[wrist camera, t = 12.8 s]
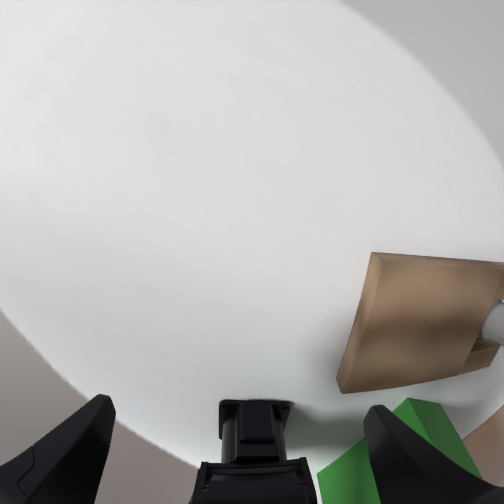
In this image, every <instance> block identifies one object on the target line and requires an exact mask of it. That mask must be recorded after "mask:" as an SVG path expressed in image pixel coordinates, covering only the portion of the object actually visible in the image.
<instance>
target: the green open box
mask: <svg viewBox="0 0 504 504" xmlns="http://www.w3.org/2000/svg"><path fill="white" fill-rule="evenodd" d="M392 413H393V414H395V415H396V416H397V417H398V418H400V419H401V420H402V421H403V422H404V423H406V424H407V425H408V426H409V427H411V428H412V429H413V430H414V431H416V432H417V433H418V434H419V435H421V436H422V437H423V438H424V439H426V440H427V441H428V442H429V443H431V444H432V445H433V446H435V447H436V448H437V449H438V450H440V451H441V452H442V453H443V454H445V455H446V457H449V458H450V459H451V460H453V461H454V462H455V463H457V464H458V465H460V466H461V467H462V468H464V469H466V470H467V471H469V472H470V473H472V474H474V475H476V476H477V477H479V478H481V479H482V477H481V475H480V473H479V471H478V469H477V467H476V465H475V463H474V462H473V460H472V458H471V456H470V454H469V453H468V451H467V449H466V447H465V446H464V444H463V442H462V440H461V438H460V437H459V435H458V433H457V432H456V430H455V428H454V427H453V425H452V423H451V422H450V420H449V418H448V417H447V415H446V413H445V412H444V410H443V408H442V407H441V405H440V404H438V403H432V402H427V401H422V400H417V399H412V398H406V399H405V400H404V401H403V403H402V404H401V405H400V406H398V407H397V408H396V409H395V410H394V411H393V412H392ZM317 478H318V483H319V488H320V493H321V498H322V503H323V504H381V503H380V499H379V495H378V491H377V487H376V483H375V479H374V476H373V472H372V468H371V465H370V461H369V456H368V449H367V443H366V437H365V438H363V439H362V440H361V441H360V442H358V443H357V444H356V445H355V446H354V447H352V448H351V449H350V450H349V451H347V452H346V453H345V454H343V455H342V456H341V457H339V458H338V459H337V460H335V461H334V462H333V463H331V464H330V465H329V466H327V467H326V468H324V469H323V470H321V471H320V472H319V473H317Z"/></svg>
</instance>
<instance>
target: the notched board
mask: <svg viewBox="0 0 504 504" xmlns="http://www.w3.org/2000/svg"><path fill="white" fill-rule="evenodd" d="M496 299H504V263H502V262H490V261H478V260H466V259H454V258H442V257H429V256H417V255H404V254H391V253H377V252H371V257H370V261H369V266H368V270H367V274H366V279H365V283H364V287H363V291H362V295H361V299H360V302H359V306H358V310H357V313H356V317H355V320H354V324H353V327H352V331H351V334H350V337H349V341H348V344H347V347H346V350H345V353H344V356H343V359H342V362H341V365H340V368H339V371H338V374H337V377H336V380H337V383H338V385H339V388H340V391H341V394H346V393H357V392H366V391H374V390H382V389H389V388H396V387H402V386H408V385H413V384H419V383H424V382H429V381H434V380H438V379H443V378H447V377H451V376H456V375H460V374H463V373H467V372H471V371H475V370H478V369H482V368H485V367H488V366H490V364H491V362H492V360H493V359H494V357H495V355H496V353H497V351H498V349H499V347H500V344H499V343H498V342H497V341H495V340H493V341H491V340H490V339H487V340H486V339H484V338H479V339H477V337H478V335H479V333H480V330H481V328H482V326H483V324H484V321H485V319H486V316H487V314H488V312H489V309H490V307H491V304H492V301H493V300H496Z"/></svg>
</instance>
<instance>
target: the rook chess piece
mask: <svg viewBox="0 0 504 504" xmlns="http://www.w3.org/2000/svg"><path fill="white" fill-rule="evenodd" d="M479 335H481V337H482V338H484V339H486V340H487V339H490V340H491V341H493V340H495V341H497V342H498V343H500V344H501V345H503V346H504V303H502V301H501V300H500V299H496V300H493V301H492V304H491V307H490V309H489V312H488V314H487V316H486V319H485V321H484V324H483V326H482V328H481V330H480V333H479Z"/></svg>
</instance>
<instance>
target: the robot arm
mask: <svg viewBox="0 0 504 504" xmlns="http://www.w3.org/2000/svg"><path fill="white" fill-rule="evenodd" d="M289 411H290V403H289V402H256V401H229V400H222V401H220V402H219V438H220V439H221V440H222V457H221V463H208V462H201V467H200V469H199V470H198V474H197V479H196V483H195V488H194V492H193V494H192V496H191V499H190V501H189V504H317V496H316V491H315V487H314V484H313V480H312V477H311V473H310V470H309V466H308V463H307V459H306V457H301V458H299V459H292V460H287V455H286V448H285V440H284V433H283V432H284V428H285V425H286V421H287V418H288V414H289ZM115 417H116V411H115V408H114V405H113V402H112V400H111V397H110V396H108V395H103V394H98V395H96V396H95V397H94V398H93V399H91V400H90V401H89V402H88V403H86V404H85V405H84V406H83V407H81V408H80V409H79V410H77V411H76V412H75V413H73V414H72V415H71V416H70V417H68V418H67V419H66V420H65V421H64V422H62V423H61V424H59V425H58V426H57V427H55V428H54V429H53V430H52V431H50V432H49V433H48V434H46V435H45V436H44V437H42V438H41V439H40V440H39V441H37V442H36V443H35V444H34V445H33V446H31V447H29V448H28V449H27V450H25V451H24V452H22V453H21V454H20V455H18V456H17V457H15V458H14V459H12V460H10V461H9V462H7V463H5V464H3V465H2V466H0V504H94V502H95V498H96V495H97V490H98V487H99V484H100V480H101V477H102V473H103V469H104V466H105V463H106V460H107V456H108V453H109V448H110V443H111V437H112V432H113V427H114V422H115ZM364 430H365V436H366V443H367V449H368V456H369V461H370V465H371V468H372V472H373V476H374V479H375V483H376V487H377V491H378V495H379V499H380V503H381V504H504V487H499V486H495V485H492V484H490V483H488V482H486V481H484V480H483V479H481V478H479V477H477V476H476V475H474V474H472V473H470V472H469V471H467V470H466V469H464V468H462V467H461V466H460V465H458V464H457V463H455V462H454V461H453V460H451V459H450V458H449V457H446V455H445V454H443V453H442V452H441V451H440V450H438V449H437V448H436V447H435V446H433V445H432V444H431V443H429V442H428V441H427V440H426V439H424V438H423V437H422V436H421V435H419V434H418V433H417V432H416V431H414V430H413V429H412V428H411V427H409V426H408V425H407V424H406V423H404V422H403V421H402V420H401V419H400V418H398V417H397V416H396V415H395V414H393V413H392V412H391V411H390V410H389V409H387V408H386V407H385V406H384V405H375V406H372V407H371V408H370V410H369V412H368V413H367V415H366V417H365V419H364Z"/></svg>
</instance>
